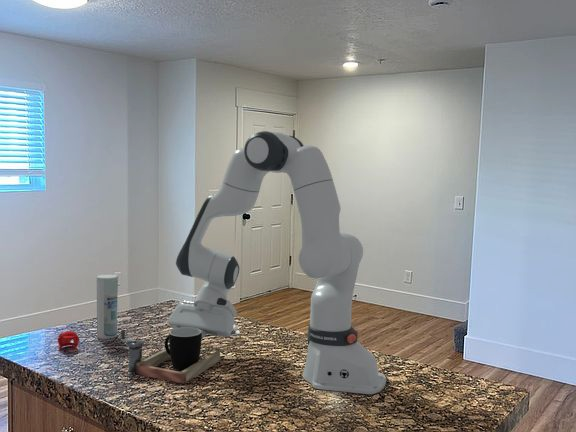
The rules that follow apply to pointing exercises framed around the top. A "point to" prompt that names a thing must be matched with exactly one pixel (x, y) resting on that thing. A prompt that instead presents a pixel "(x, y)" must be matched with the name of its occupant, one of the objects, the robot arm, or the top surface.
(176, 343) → the mug
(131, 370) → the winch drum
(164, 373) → the bay
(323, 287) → the robot arm
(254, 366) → the top surface
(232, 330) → the teacup and saucer
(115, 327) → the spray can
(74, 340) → the cap
